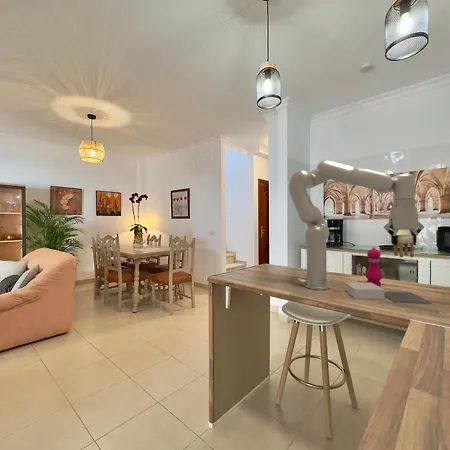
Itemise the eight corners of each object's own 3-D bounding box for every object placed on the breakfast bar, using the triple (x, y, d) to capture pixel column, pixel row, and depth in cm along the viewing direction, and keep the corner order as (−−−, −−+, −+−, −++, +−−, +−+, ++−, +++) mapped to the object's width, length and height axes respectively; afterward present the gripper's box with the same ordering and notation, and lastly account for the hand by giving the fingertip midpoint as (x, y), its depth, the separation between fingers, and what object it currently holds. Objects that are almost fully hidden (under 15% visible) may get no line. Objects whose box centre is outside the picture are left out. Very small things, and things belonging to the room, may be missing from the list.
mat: (394, 302, 105) (394, 301, 105) (378, 292, 119) (378, 291, 119) (431, 303, 103) (431, 302, 103) (410, 293, 117) (410, 292, 117)
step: (354, 298, 110) (354, 289, 110) (345, 290, 122) (345, 282, 122) (384, 299, 109) (384, 289, 109) (371, 291, 121) (371, 282, 121)
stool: (391, 255, 114) (391, 235, 114) (407, 255, 113) (407, 234, 113) (399, 257, 107) (399, 236, 107) (416, 257, 106) (416, 236, 106)
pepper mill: (384, 286, 128) (384, 247, 127) (368, 286, 129) (368, 247, 129) (378, 283, 135) (378, 245, 134) (363, 282, 136) (363, 245, 136)
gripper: (419, 203, 112) (420, 243, 113) (378, 204, 114) (378, 244, 115) (431, 202, 105) (431, 245, 105) (386, 203, 107) (386, 245, 107)
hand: (403, 244), depth 110 cm, fingers closed on stool, 6 cm apart
